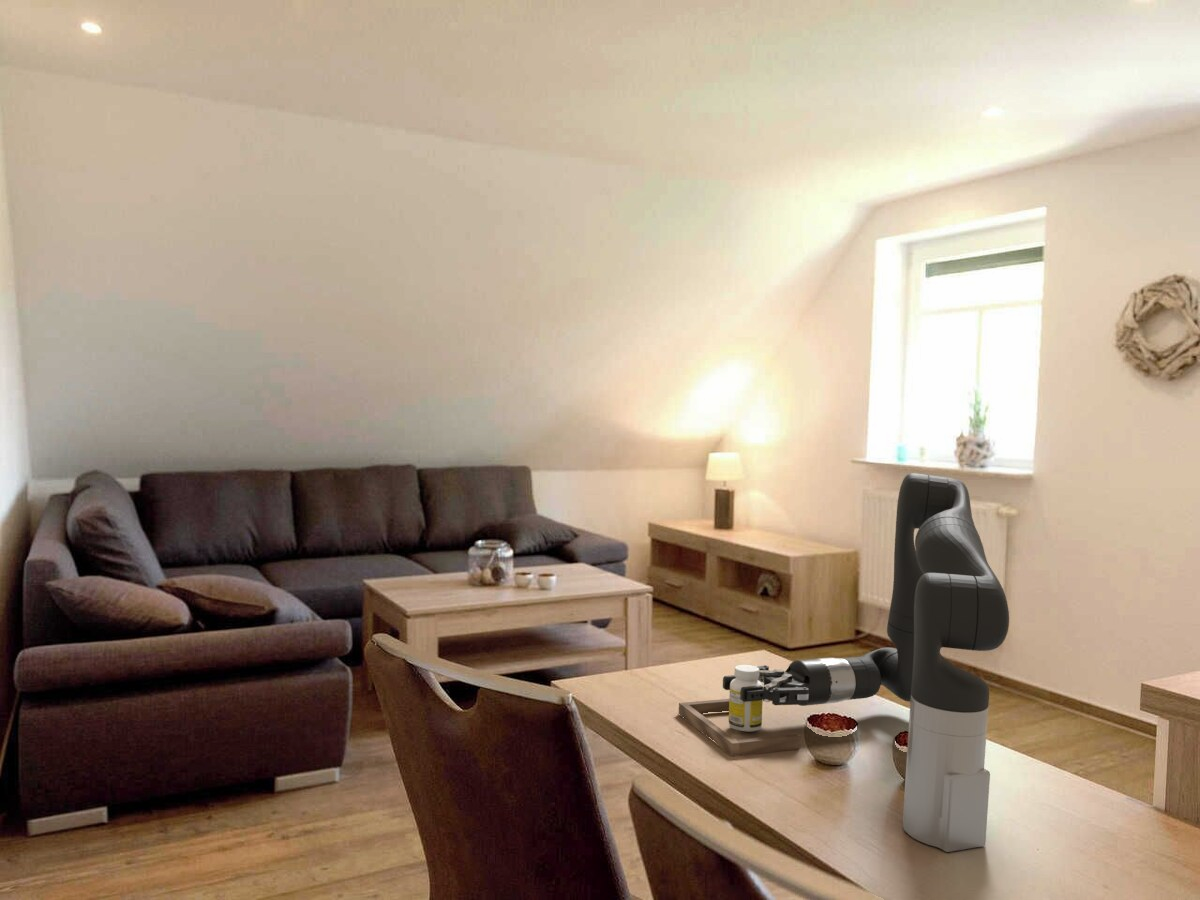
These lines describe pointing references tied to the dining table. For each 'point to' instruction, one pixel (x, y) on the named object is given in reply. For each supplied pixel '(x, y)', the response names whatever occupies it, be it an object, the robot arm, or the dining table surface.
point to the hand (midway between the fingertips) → (732, 688)
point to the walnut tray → (725, 741)
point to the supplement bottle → (741, 712)
